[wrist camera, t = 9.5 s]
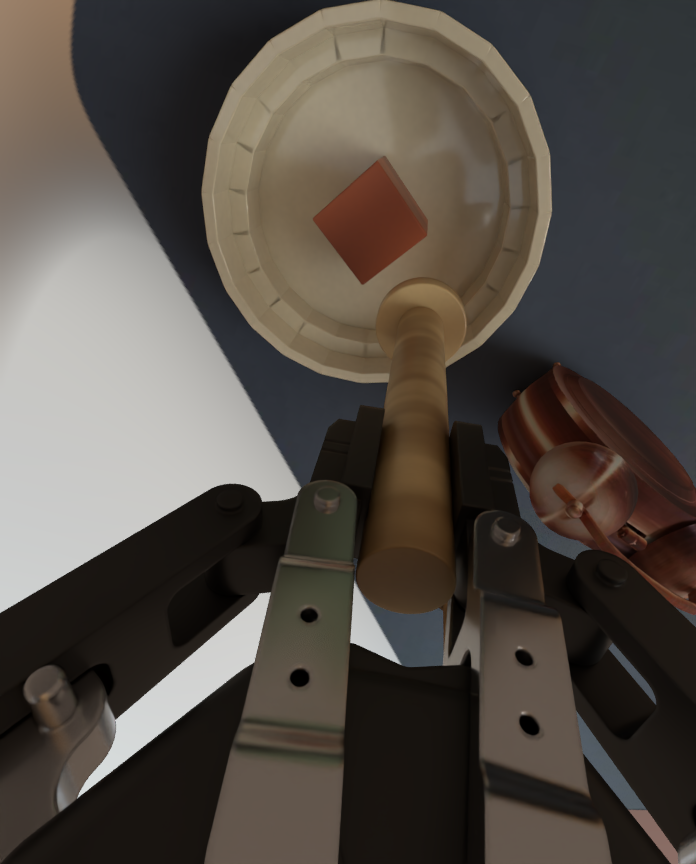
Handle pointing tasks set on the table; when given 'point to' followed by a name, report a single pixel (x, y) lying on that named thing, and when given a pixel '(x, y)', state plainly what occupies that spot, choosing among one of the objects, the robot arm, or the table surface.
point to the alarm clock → (604, 479)
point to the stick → (413, 453)
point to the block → (373, 221)
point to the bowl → (352, 155)
